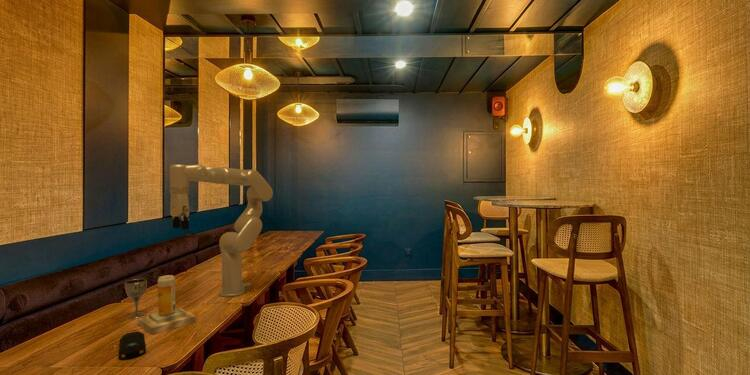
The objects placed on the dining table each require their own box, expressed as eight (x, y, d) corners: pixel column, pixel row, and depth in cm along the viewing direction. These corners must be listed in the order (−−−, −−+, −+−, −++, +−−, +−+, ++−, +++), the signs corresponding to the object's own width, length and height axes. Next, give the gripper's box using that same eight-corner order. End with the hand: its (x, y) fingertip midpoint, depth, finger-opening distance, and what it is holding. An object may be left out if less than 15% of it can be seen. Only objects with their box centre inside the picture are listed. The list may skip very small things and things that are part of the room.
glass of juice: (163, 311, 150) (162, 275, 150) (178, 310, 151) (177, 274, 150) (155, 316, 144) (154, 279, 144) (171, 315, 144) (170, 278, 144)
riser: (180, 313, 158) (180, 304, 158) (195, 322, 148) (195, 312, 148) (138, 324, 146) (138, 314, 146) (151, 335, 136) (151, 324, 136)
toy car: (118, 363, 115) (118, 347, 115) (119, 344, 129) (119, 330, 129) (146, 356, 119) (145, 341, 119) (144, 338, 133) (144, 325, 133)
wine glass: (151, 313, 159) (150, 279, 159) (133, 319, 152) (132, 284, 152) (140, 311, 162) (139, 277, 162) (121, 317, 155) (120, 282, 155)
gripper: (163, 191, 169) (164, 228, 169) (178, 191, 158) (179, 230, 158) (181, 191, 175) (181, 226, 175) (196, 191, 163) (197, 229, 163)
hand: (180, 228), depth 166 cm, fingers open, 9 cm apart
